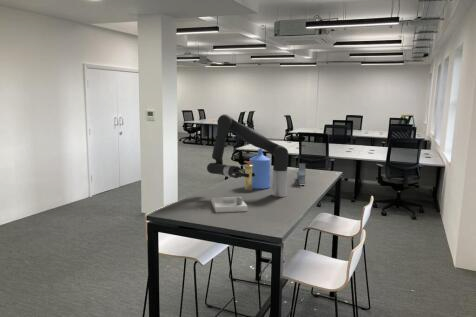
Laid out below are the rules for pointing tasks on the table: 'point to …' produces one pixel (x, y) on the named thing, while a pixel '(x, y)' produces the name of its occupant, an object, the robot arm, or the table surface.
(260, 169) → the water jug
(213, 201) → the plate
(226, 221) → the table surface
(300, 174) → the faucet
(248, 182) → the valve
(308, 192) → the table surface
